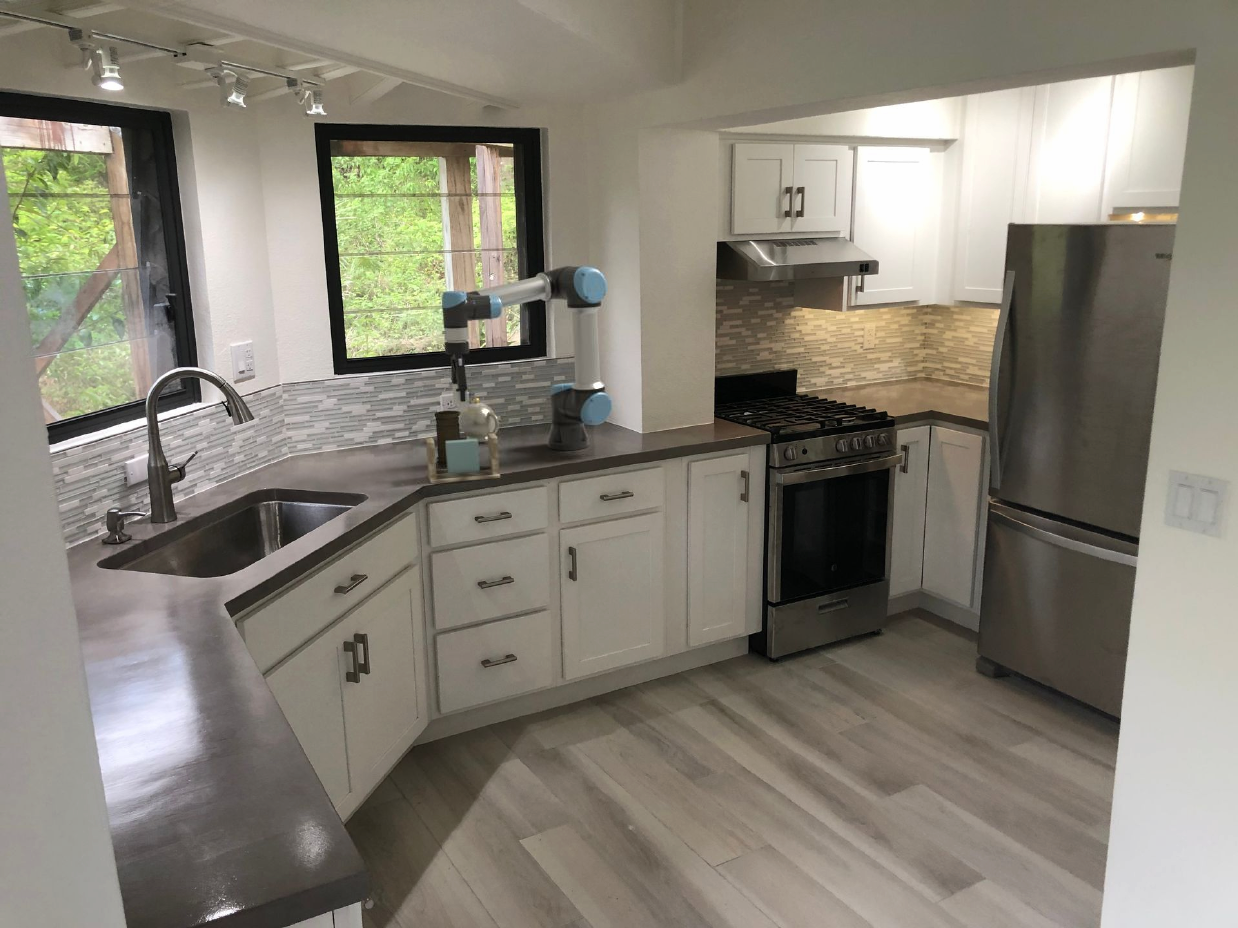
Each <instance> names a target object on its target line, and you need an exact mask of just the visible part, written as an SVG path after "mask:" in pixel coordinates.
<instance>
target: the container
mask: <svg viewBox="0 0 1238 928" xmlns="http://www.w3.org/2000/svg"><path fill="white" fill-rule="evenodd" d="M460 414H461V412H459V410H458V411H457V410H440V411H437V412H435V413H434V417H435V428H436V430H435V431H436V443H437V449H436V451H437V457H436V466H438V468H439V467H440V468H447V459H446V442H445V441H452V440H461V433H460V424H459V417H460Z"/></svg>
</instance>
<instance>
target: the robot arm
mask: <svg viewBox="0 0 1238 928" xmlns="http://www.w3.org/2000/svg"><path fill="white" fill-rule="evenodd" d="M607 284H608V283H607V280H606V277H605V276H604V274H603V273H602V272H601V271H600V270H599V269H597V268H594V267H590V266H572V265H566V266H560V267H556V268H554V269H549V270H547V271H543V272H539V273H537V274H536V275H535V277H531V278H526V279H522V280H517V281H513V282H508V283H507V282H506V283H503V284H499V285H495V286H490V287H486V288H480V289H476V290H474V291H473V290H472V291H469V292H468V291H467V292H466V291H464V290H448V291H444V292H443V293H442V294H441V309H442V319H443V320H442V321H443V331H442V332H441V334H442V335H443V336H444V338H443V339H444V341H445V342H444V353H445V354H446V355H449V356H450V358H451V359H450V365H451V368H450V369H451V374H450V375H451V378H450V380H451V384H452V398H453V399H452V400H453V405H458V406H457V407H458V412H459V413H461V412H466V411H468V408H467V405H468V396H467V395H468V393H467V392H468V391H467V390H468V384H467V383H468V381H467V375H466V367H465V363H466V362H465V361H466V360H465V358H463V355H466V354H469V353H470V343H469V341H468V340H469V339H470V338H469V322H471V321H482V320H490V321H491V320H493V319H498V318H500V316H501V315H502V312H503V309H504V308H507V307H513V306H516V305H520V304H525V303H528V302H534V301H539V300H542V301H545V302H546V301H550V300H562V301H563V300H564V301H566V308H567V310H568V311H570V312H571V316H572V317H571V318H572V319H571V322H572V335H573V336H572V338H573V339H572V340H573V354H574V355H573V356H574V373H575V374H574V375H575V378H574V379H575V381H574V382H567V383H566V382H565V383H558V384H554V385H552V386H551V387H550V395H549V397H550V411H551V414H550V415H551V428H550V431H549V434H548V437H547V448H548V449H551V450H555V451H556V450H558V451H575V450H576V451H577V450H582V449H586V448H588V447H589V445H590V439H589V436H588V434H587V430H586V428H585V425H590V426H591V425H592V426H598V425H601V424H603V423H604V422H605V421H607V419H608V418H609V417H610V416H611V413H612V410H613V403H612V399H611V397H610V396H609V395H608V394H607V393H606V384H604V382H602V381H601V370H600V368H601V365H600V347H599V330H598V329H599V328H598V327H599V326H598V325H599V323H598V311H599V310H600V309H601V308H602V300H603V299H604V298H605V297H604V296H606V295H607V291H608V285H607Z"/></svg>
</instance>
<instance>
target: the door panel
mask: <svg viewBox="0 0 1238 928" xmlns="http://www.w3.org/2000/svg"><path fill="white" fill-rule="evenodd" d="M445 442H446V459H447V467H446V469H447V474H453V473H465V472H477V471H480V469H479V466H480V455H479V454H480V452H479V443H478V440H477V439H467V438H466V439H460V440H452V441H445Z"/></svg>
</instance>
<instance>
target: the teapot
mask: <svg viewBox="0 0 1238 928" xmlns="http://www.w3.org/2000/svg"><path fill="white" fill-rule="evenodd" d="M467 408H468V411H466V412H460V415H459V416H458V417H459V428H460V429H461V431H462V432H463V434H465V435H466V439H477V440H478V444H481V443H486V442H487V443H488V433H494V434H495V435H496V434H497V432H498V431H499V428H500V427H499V426H500V422H499V418H498V416H497V415H496V414H495V412H494V411H493V409H492V408H491V407H490V406H489V405H488V404H485V403H483V402H480V399H479V398H478V397H475V398H474V399H473V402H471V403H469V404H467Z"/></svg>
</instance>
